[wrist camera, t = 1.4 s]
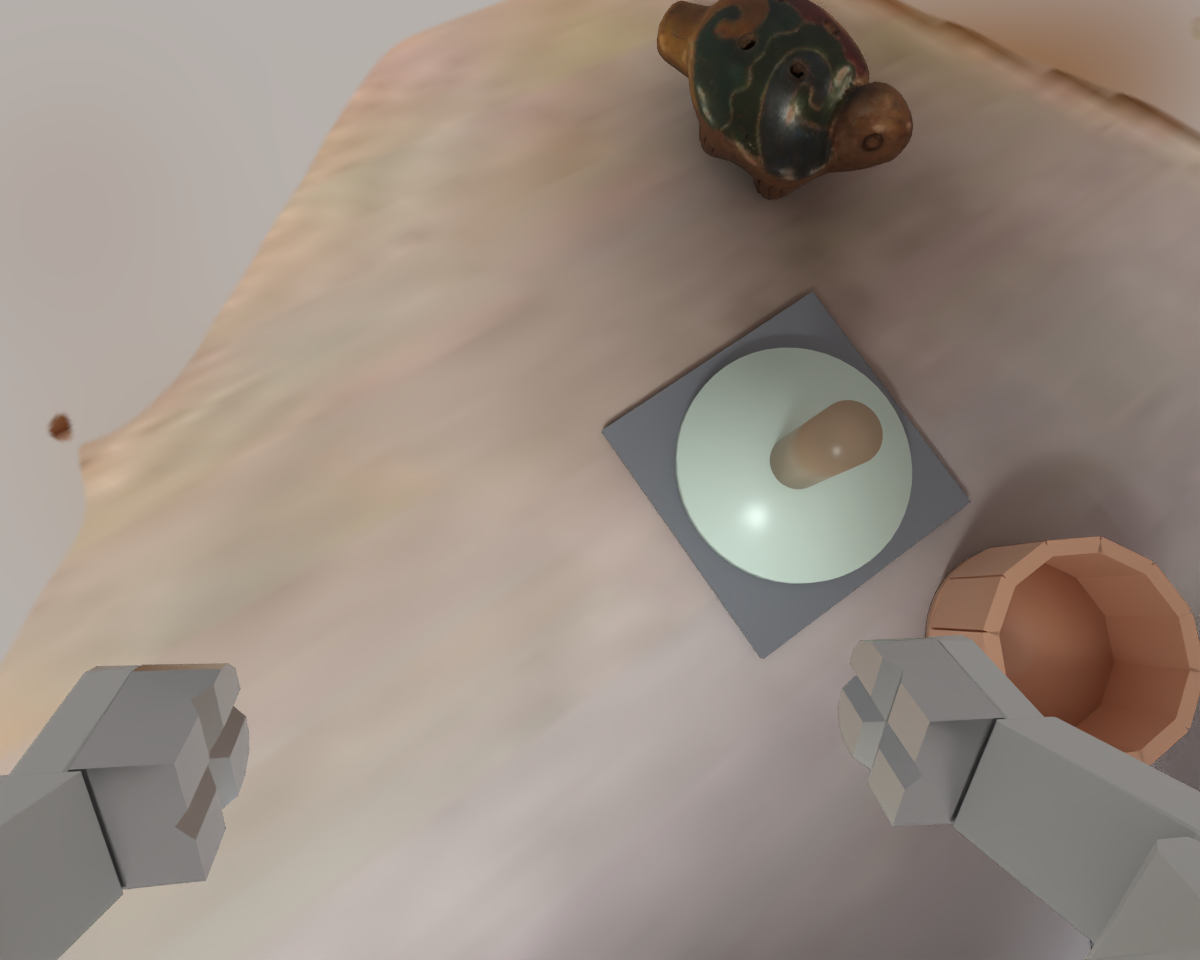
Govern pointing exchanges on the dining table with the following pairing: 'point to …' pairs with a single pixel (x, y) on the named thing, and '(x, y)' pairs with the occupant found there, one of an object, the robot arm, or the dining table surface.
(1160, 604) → the bowl
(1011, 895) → the dining table surface
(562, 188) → the dining table surface
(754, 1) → the decorative turtle
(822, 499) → the lid
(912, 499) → the mat
